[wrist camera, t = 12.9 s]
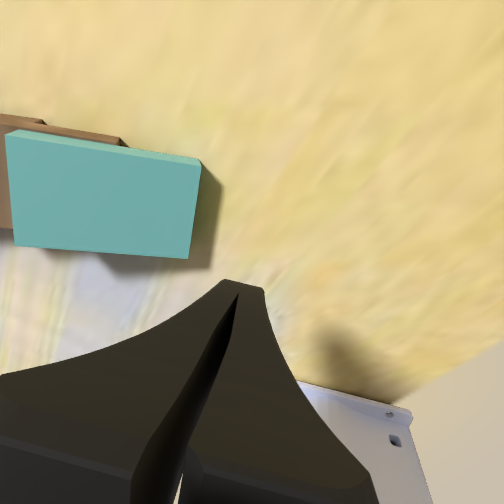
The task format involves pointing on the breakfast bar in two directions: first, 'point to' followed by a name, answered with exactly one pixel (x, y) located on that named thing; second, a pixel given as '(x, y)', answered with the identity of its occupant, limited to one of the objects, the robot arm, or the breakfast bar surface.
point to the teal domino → (100, 196)
